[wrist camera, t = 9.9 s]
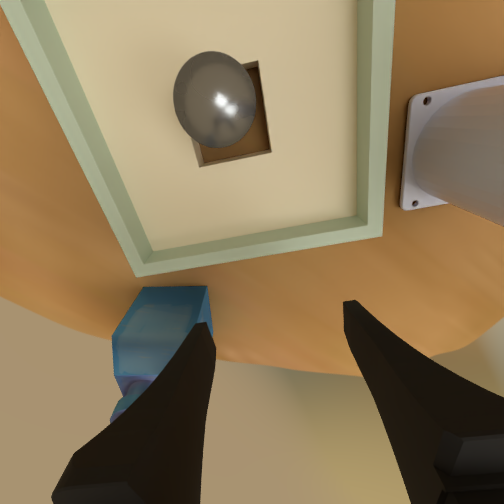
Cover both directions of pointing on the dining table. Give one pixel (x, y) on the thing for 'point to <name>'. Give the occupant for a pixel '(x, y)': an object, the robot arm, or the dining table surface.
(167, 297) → the perfume bottle
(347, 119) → the box
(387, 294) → the dining table surface
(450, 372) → the robot arm
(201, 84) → the peg
